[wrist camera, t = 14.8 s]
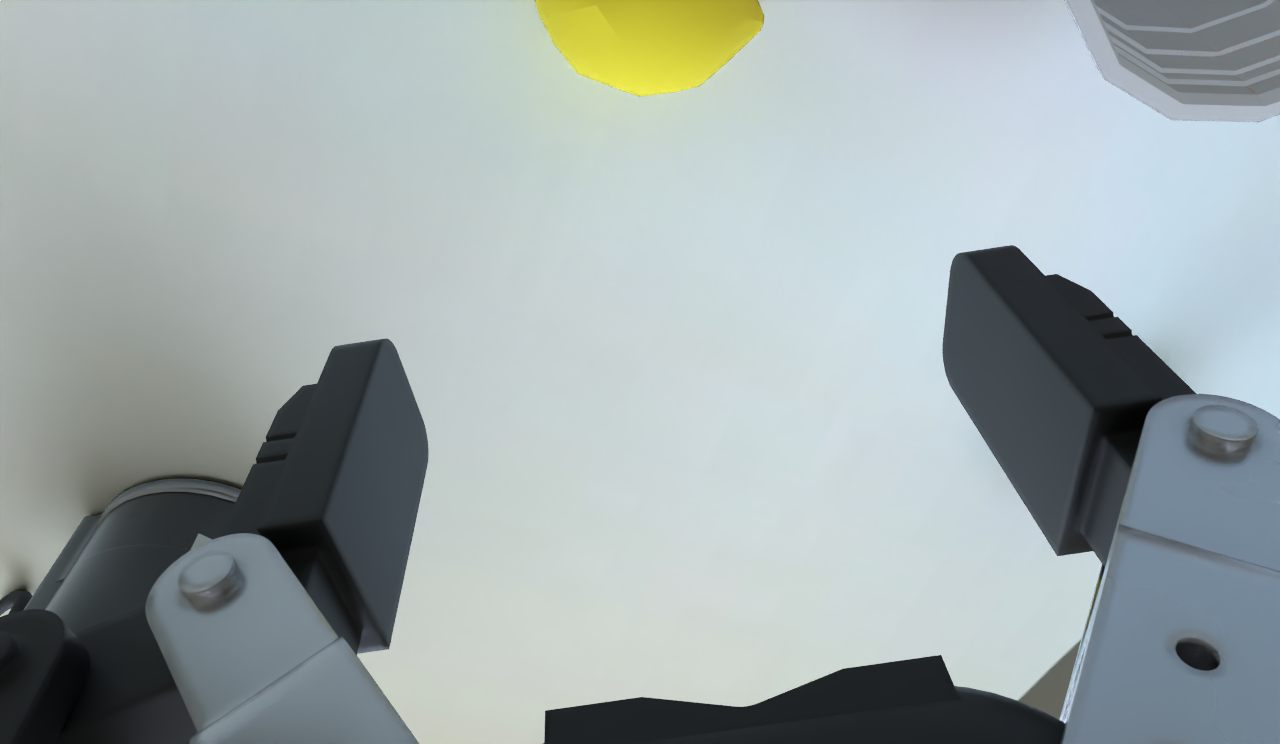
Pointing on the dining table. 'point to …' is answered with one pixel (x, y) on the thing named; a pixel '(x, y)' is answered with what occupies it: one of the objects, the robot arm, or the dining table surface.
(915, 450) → the dining table surface
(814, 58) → the dining table surface
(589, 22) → the lemon
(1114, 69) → the plastic cup
